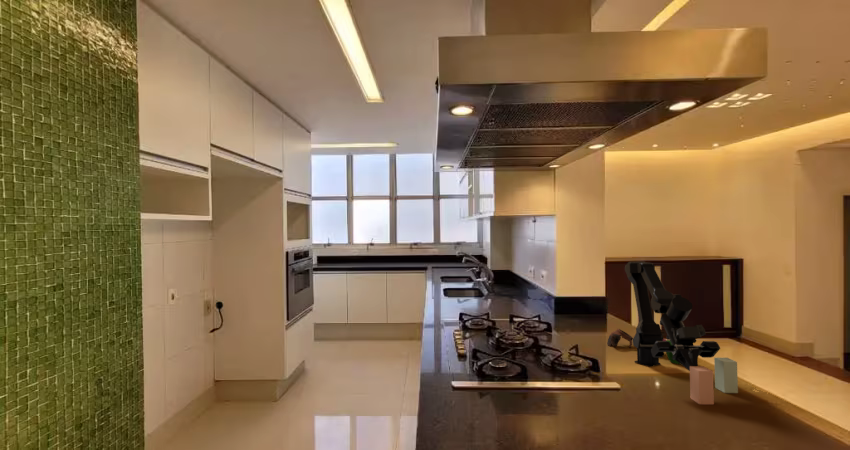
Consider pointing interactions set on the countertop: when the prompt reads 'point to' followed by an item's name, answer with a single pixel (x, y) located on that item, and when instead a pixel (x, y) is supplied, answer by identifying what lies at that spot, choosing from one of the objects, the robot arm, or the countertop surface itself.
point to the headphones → (618, 337)
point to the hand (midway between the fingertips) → (696, 374)
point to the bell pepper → (670, 355)
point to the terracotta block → (701, 385)
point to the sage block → (726, 375)
